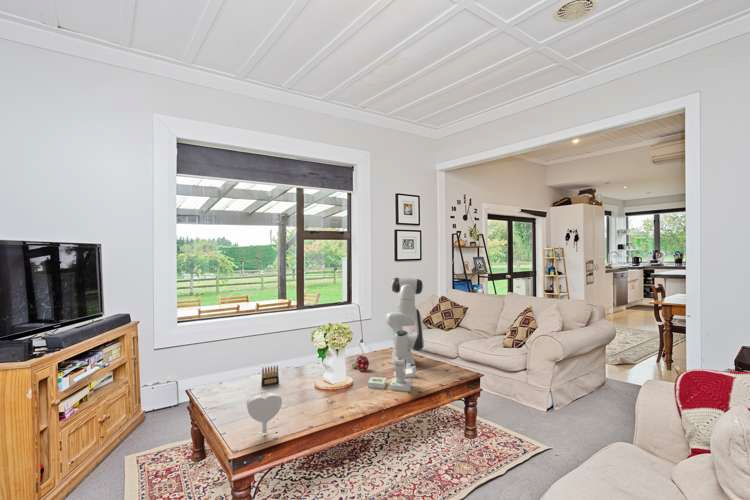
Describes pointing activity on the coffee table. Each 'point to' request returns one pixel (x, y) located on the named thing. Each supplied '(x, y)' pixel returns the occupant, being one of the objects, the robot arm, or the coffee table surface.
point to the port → (401, 385)
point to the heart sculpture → (264, 408)
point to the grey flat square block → (377, 382)
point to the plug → (402, 379)
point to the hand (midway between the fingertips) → (401, 380)
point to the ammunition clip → (270, 376)
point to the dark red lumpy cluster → (361, 363)
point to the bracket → (409, 371)
